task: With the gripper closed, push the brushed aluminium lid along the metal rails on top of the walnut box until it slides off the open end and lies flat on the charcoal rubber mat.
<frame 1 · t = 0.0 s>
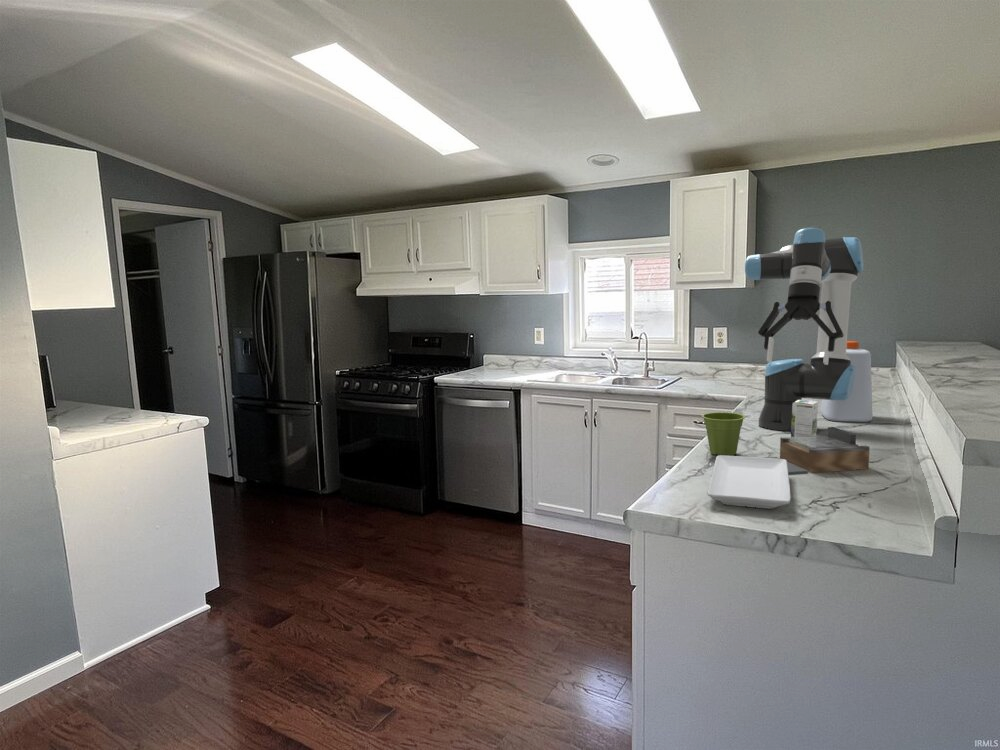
hand: (796, 362, 158), 28 cm above the worktop, tool tilted 20°, fingers open, 13 cm apart
rubber mat: (763, 467, 160), on the worktop
plastic bottle: (845, 418, 218), on the worktop
syrup box: (803, 450, 177), on the worktop
plant pot: (722, 454, 175), on the worktop
walnut box: (822, 463, 162), on the worktop
lid: (821, 445, 161), point 5 cm above the worktop, touching walnut box
tray: (749, 489, 142), on the worktop, touching rubber mat
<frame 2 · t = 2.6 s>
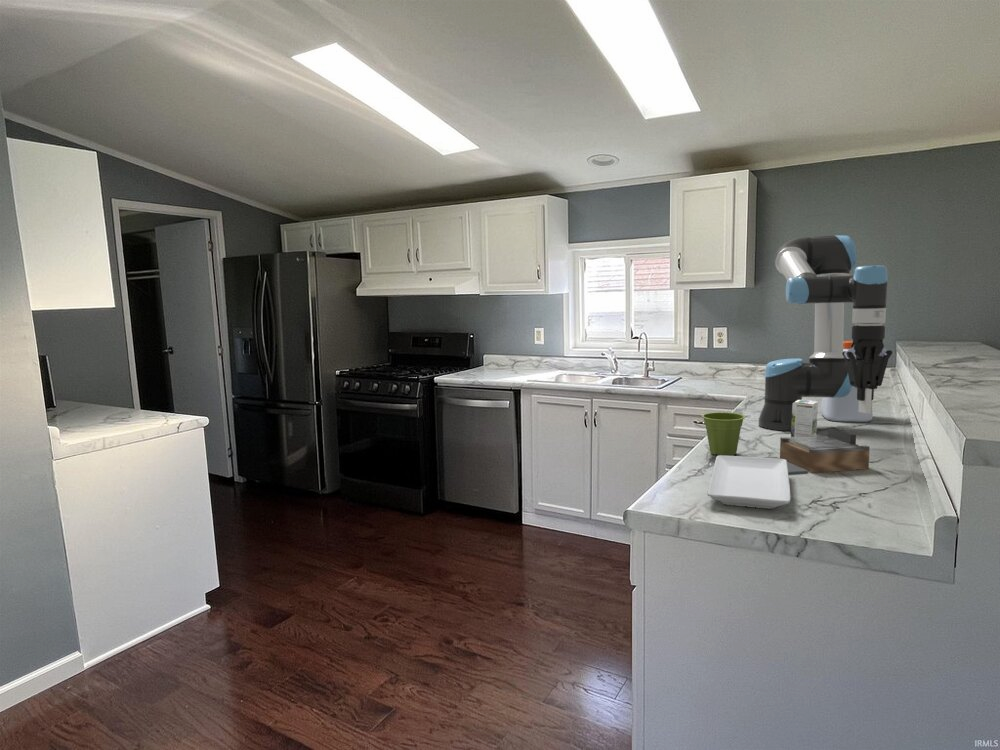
hand: (864, 412, 161), 14 cm above the worktop, tool pointing down, fingers closed
nothing on the worktop moved.
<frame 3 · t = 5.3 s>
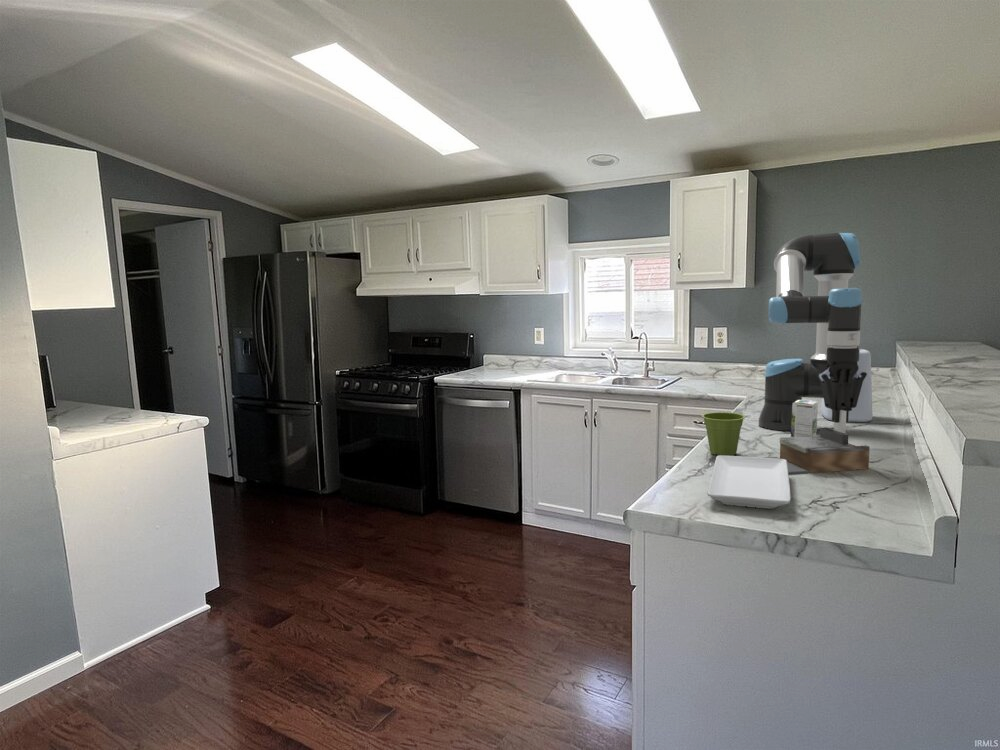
hand: (839, 433, 161), 8 cm above the worktop, tool pointing down, fingers closed
lid: (814, 446, 161), point 5 cm above the worktop, touching gripper, walnut box
everything else where it was.
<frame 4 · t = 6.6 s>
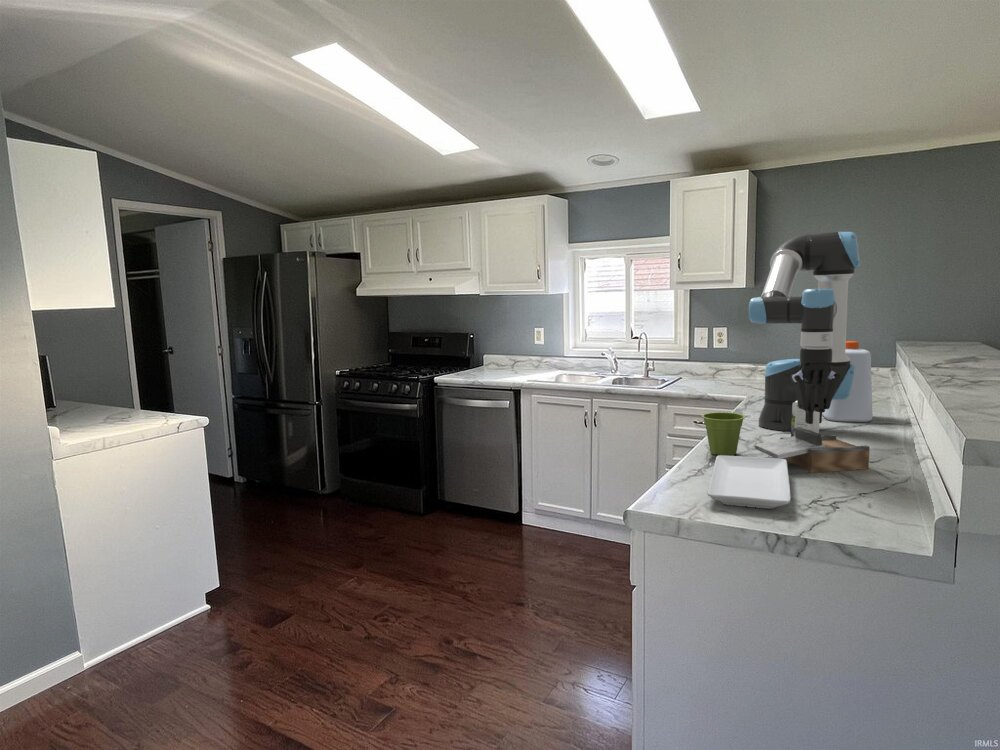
hand: (812, 435, 160), 8 cm above the worktop, tool pointing down, fingers closed
lid: (789, 449, 160), point 5 cm above the worktop, tilted 8°, touching gripper, walnut box
everything else where it was.
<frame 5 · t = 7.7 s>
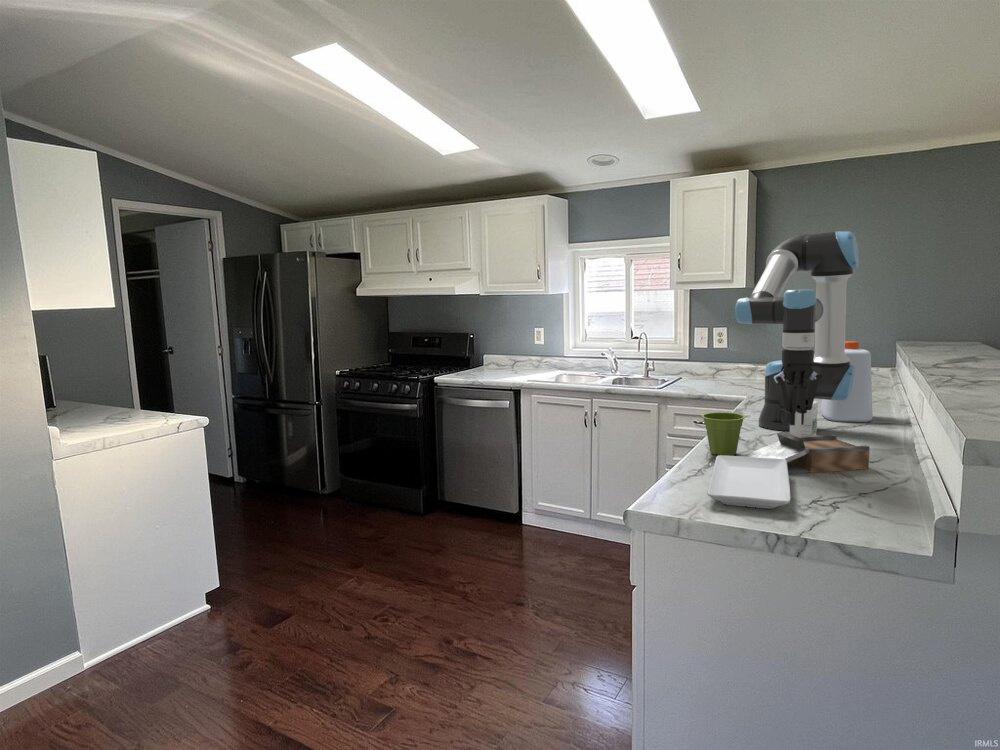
hand: (795, 436, 160), 8 cm above the worktop, tool pointing down, fingers closed
lid: (774, 457, 160), point 3 cm above the worktop, tilted 19°, touching gripper, rubber mat, tray
tray: (749, 489, 142), on the worktop, touching lid
everything else where it was.
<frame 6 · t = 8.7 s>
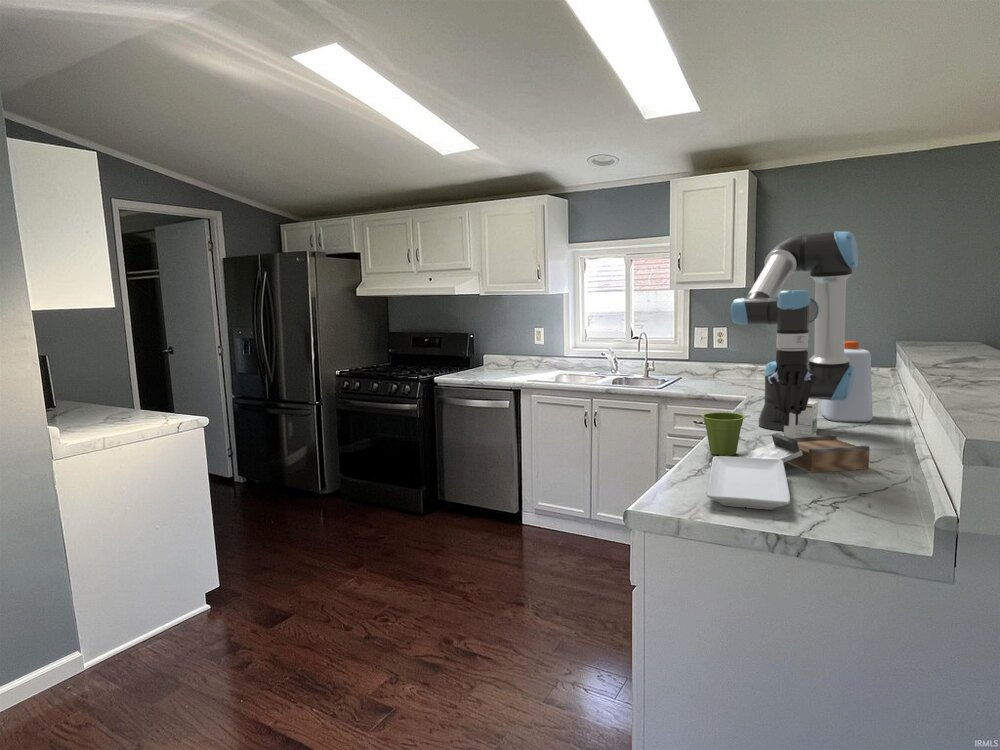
hand: (789, 437, 160), 8 cm above the worktop, tool pointing down, fingers closed
lid: (768, 458, 160), point 3 cm above the worktop, tilted 17°, touching gripper, rubber mat, tray
tray: (747, 490, 142), on the worktop, touching lid, rubber mat
everything else where it was.
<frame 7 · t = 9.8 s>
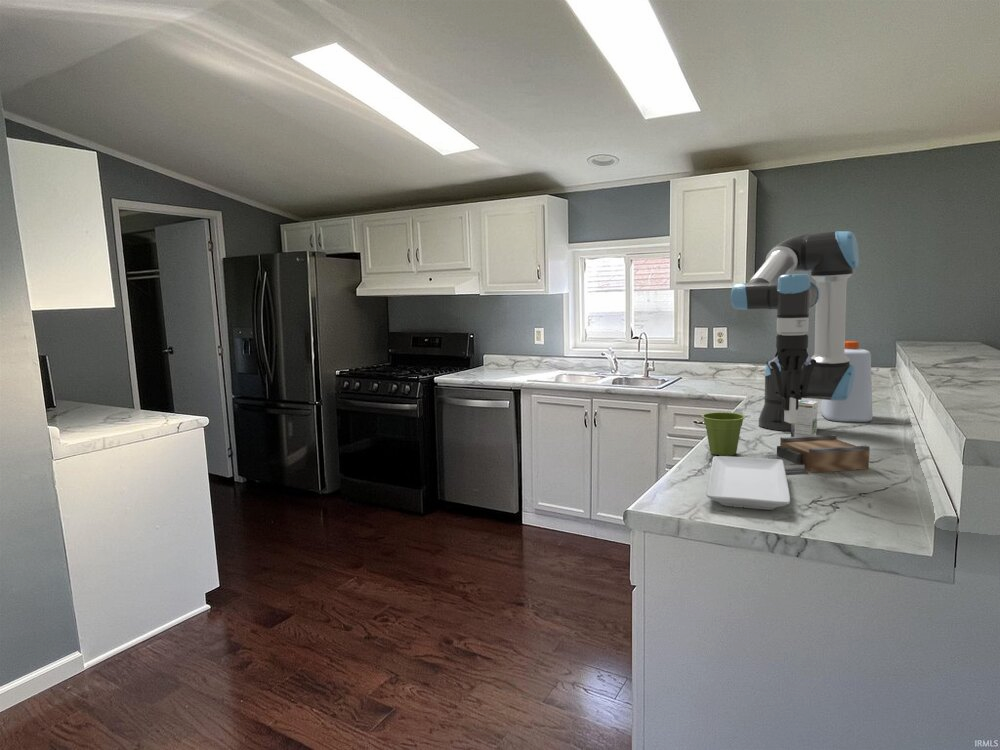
hand: (789, 422, 160), 12 cm above the worktop, tool pointing down, fingers closed
lid: (768, 465, 160), point 1 cm above the worktop, touching rubber mat
tray: (747, 490, 142), on the worktop, touching rubber mat
everything else where it was.
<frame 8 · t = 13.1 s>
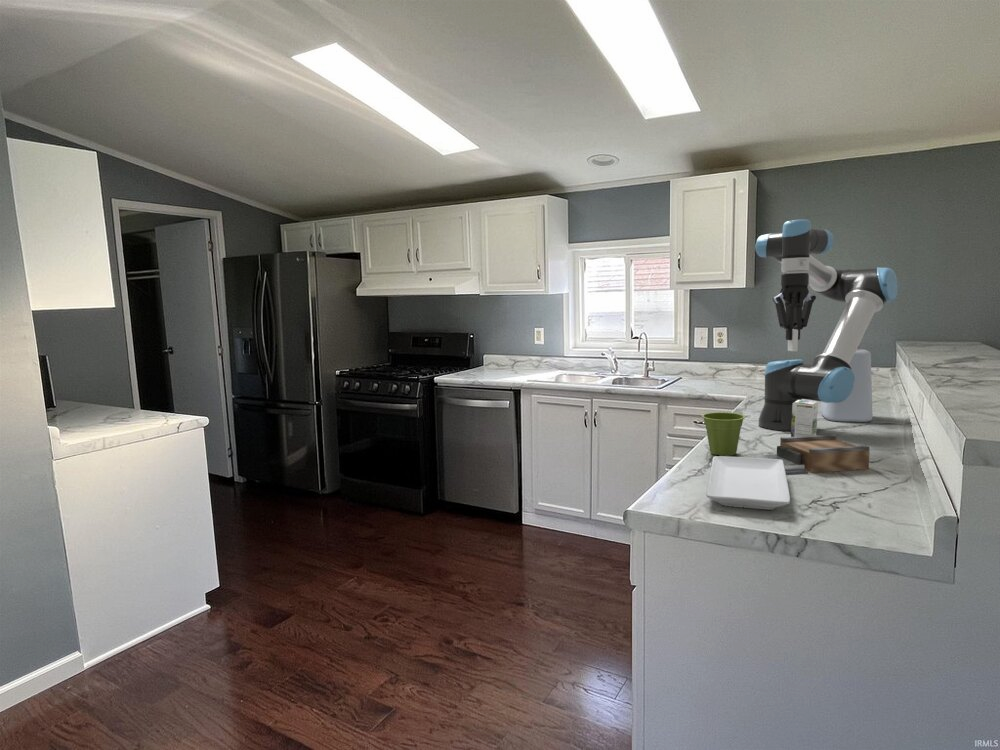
hand: (792, 350, 183), 28 cm above the worktop, tool pointing down, fingers closed
nothing on the worktop moved.
at the end: lid inside the target area (4.5 cm from its centre), point 0.6 cm above the worktop; lid tilted 0°; lid touching rubber mat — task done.
